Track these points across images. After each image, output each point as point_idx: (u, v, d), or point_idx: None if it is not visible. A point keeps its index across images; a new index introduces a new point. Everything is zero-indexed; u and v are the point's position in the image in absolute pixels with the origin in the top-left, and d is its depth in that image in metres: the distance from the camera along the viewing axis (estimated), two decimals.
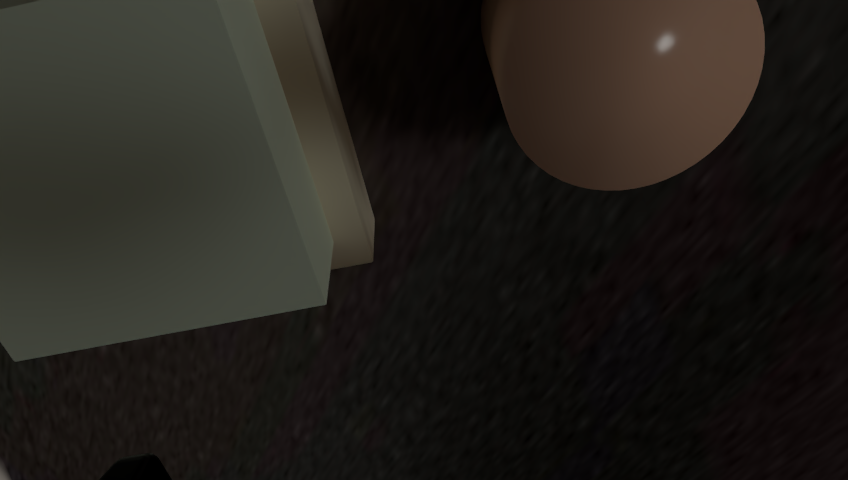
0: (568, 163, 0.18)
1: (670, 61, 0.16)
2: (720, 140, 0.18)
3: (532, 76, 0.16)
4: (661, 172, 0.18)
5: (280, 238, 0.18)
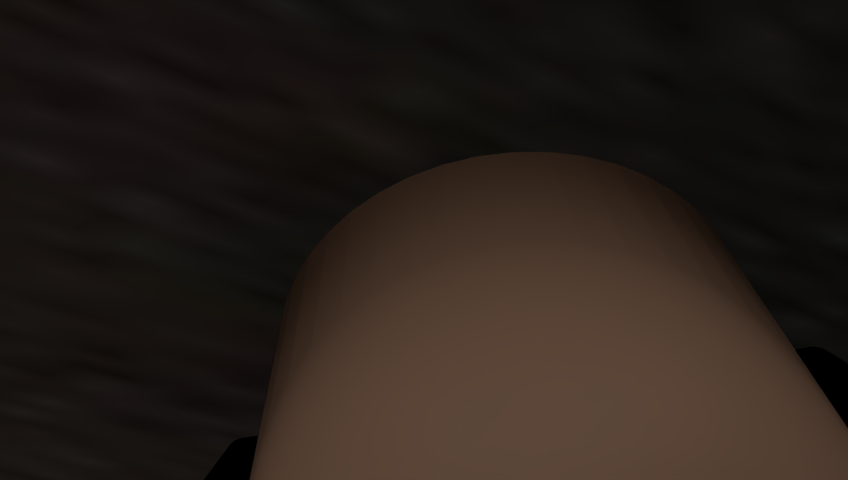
0: None
1: None
2: None
3: None
4: None
5: None
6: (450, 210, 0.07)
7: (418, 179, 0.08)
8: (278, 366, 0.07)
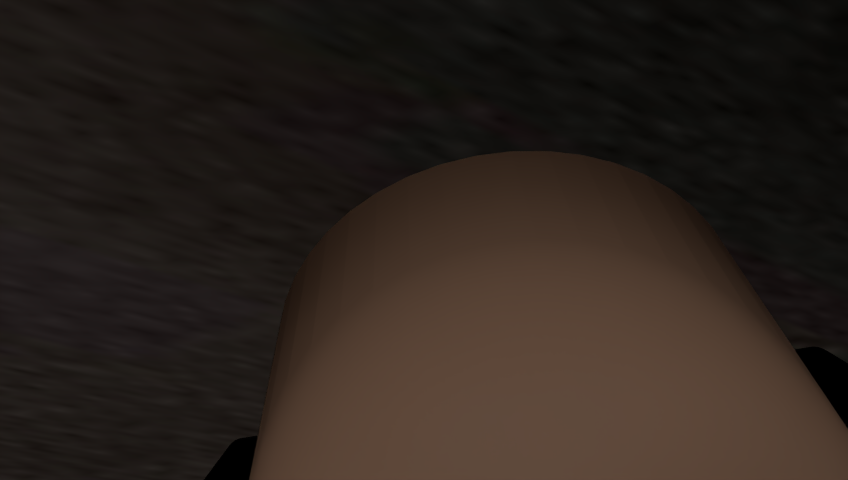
0: None
1: None
2: None
3: None
4: None
5: None
6: (449, 208, 0.07)
7: (418, 180, 0.08)
8: (278, 365, 0.07)
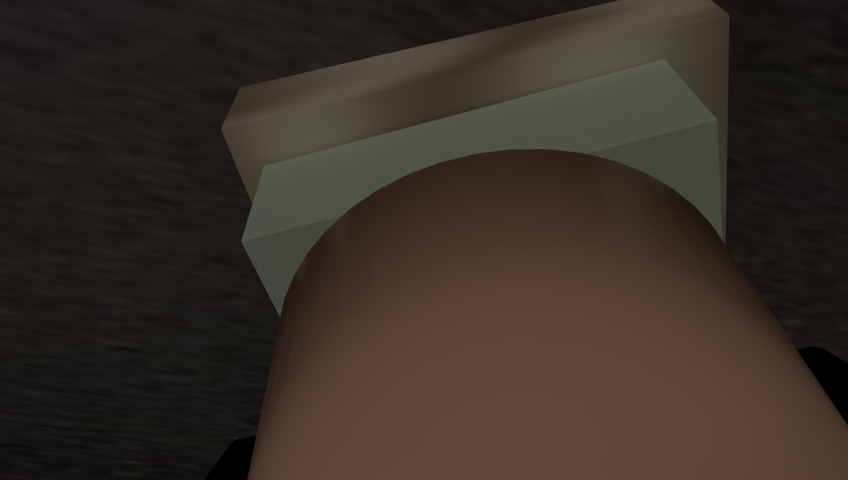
0: None
1: None
2: None
3: None
4: None
5: None
6: (449, 206, 0.07)
7: (417, 177, 0.08)
8: (277, 363, 0.07)
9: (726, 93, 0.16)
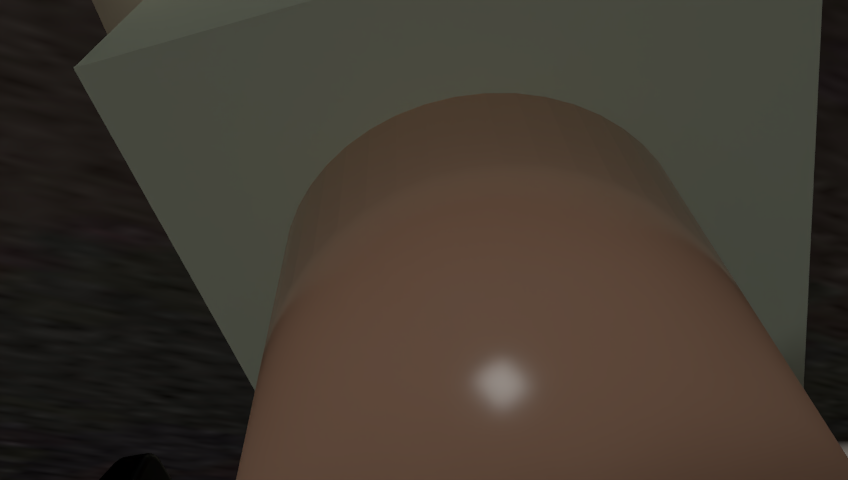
0: None
1: None
2: (794, 428, 0.05)
3: None
4: None
5: None
6: (430, 136, 0.08)
7: (405, 116, 0.09)
8: (285, 271, 0.09)
9: None
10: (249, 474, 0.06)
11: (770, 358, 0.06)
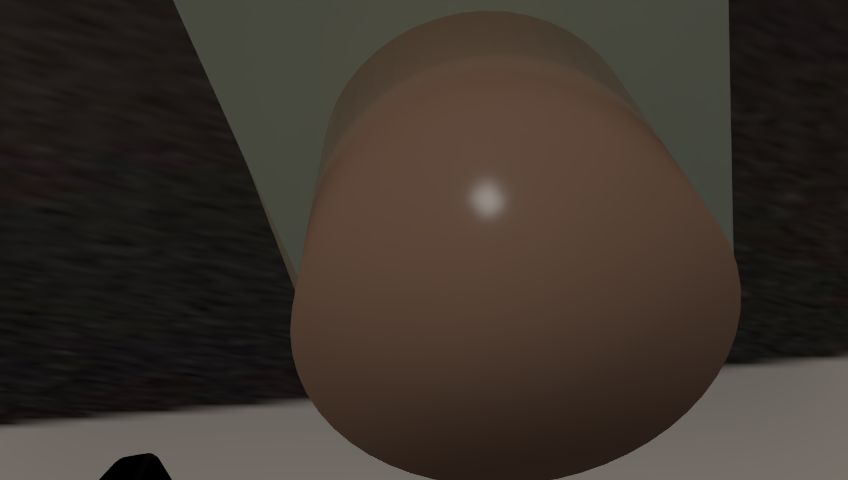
0: (656, 406, 0.10)
1: (492, 293, 0.09)
2: (675, 188, 0.08)
3: (494, 456, 0.11)
4: (719, 275, 0.09)
5: None
6: (441, 35, 0.11)
7: (421, 26, 0.12)
8: (330, 136, 0.12)
9: None
10: (318, 231, 0.09)
11: (669, 161, 0.09)
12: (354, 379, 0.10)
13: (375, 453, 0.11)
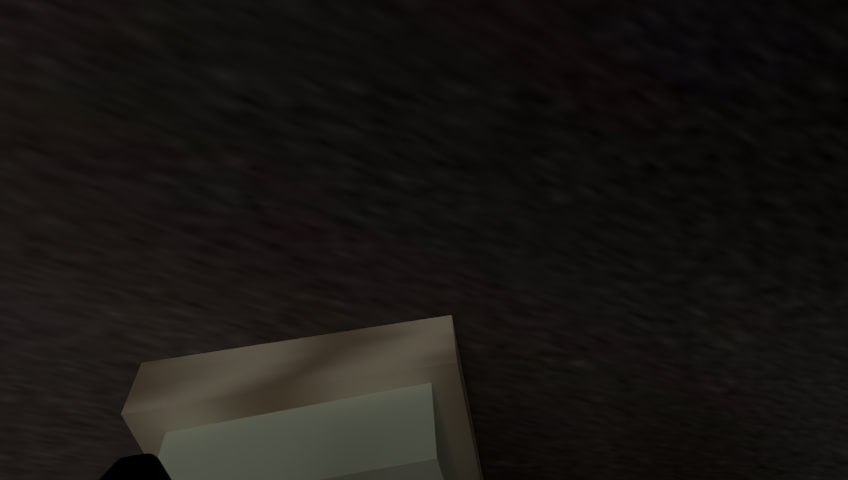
0: None
1: None
2: None
3: None
4: None
5: None
6: None
7: None
8: None
9: (464, 399, 0.24)
10: None
11: None
12: None
13: None
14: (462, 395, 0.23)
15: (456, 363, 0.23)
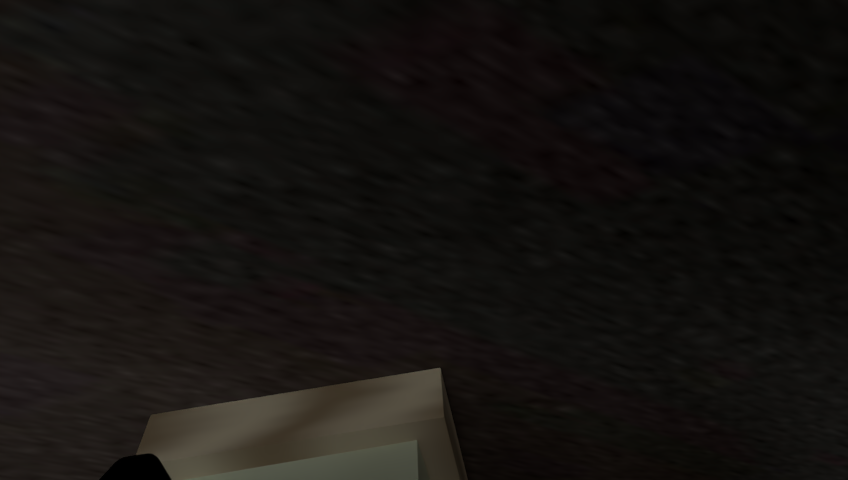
0: None
1: None
2: None
3: None
4: None
5: None
6: None
7: None
8: None
9: (452, 450, 0.25)
10: None
11: None
12: None
13: None
14: (450, 446, 0.25)
15: (443, 417, 0.24)
